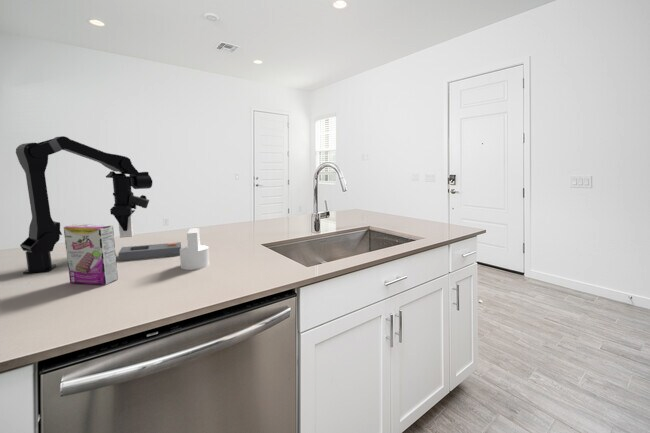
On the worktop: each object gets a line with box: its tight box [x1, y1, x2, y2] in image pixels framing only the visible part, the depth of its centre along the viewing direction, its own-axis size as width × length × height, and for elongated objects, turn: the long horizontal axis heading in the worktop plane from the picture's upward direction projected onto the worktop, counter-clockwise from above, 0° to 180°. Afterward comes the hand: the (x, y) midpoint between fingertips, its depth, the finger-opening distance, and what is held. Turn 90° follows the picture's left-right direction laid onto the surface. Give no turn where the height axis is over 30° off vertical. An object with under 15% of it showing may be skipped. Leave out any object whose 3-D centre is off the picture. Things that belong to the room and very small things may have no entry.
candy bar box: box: [63, 223, 119, 286], centre depth 88 cm, size 11×5×16 cm, turn 84°
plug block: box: [118, 214, 134, 239], centre depth 120 cm, size 4×4×8 cm
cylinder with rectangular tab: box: [179, 227, 210, 271], centre depth 104 cm, size 9×9×12 cm
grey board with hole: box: [117, 242, 182, 262], centre depth 119 cm, size 9×26×4 cm, turn 116°
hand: (126, 229), depth 121 cm, fingers closed on plug block, 4 cm apart
